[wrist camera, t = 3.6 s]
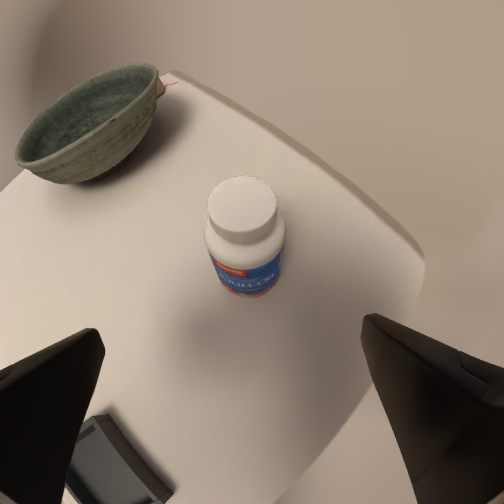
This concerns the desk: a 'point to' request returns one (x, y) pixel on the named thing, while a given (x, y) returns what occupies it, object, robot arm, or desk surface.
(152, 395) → the desk surface
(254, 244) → the pill bottle
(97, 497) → the tray
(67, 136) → the bowl
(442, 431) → the robot arm
